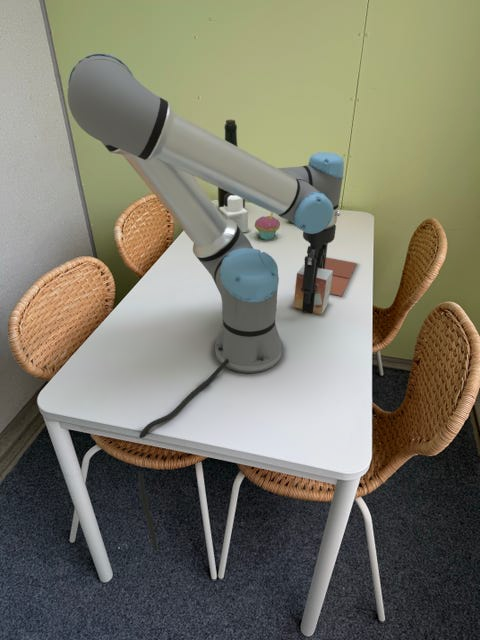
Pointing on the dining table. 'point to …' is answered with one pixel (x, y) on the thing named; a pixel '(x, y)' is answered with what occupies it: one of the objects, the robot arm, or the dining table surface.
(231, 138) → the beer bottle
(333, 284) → the napkin
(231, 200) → the container
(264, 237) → the cupcake
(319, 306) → the small box
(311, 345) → the dining table surface
